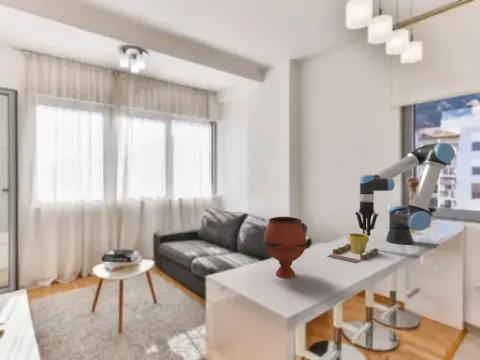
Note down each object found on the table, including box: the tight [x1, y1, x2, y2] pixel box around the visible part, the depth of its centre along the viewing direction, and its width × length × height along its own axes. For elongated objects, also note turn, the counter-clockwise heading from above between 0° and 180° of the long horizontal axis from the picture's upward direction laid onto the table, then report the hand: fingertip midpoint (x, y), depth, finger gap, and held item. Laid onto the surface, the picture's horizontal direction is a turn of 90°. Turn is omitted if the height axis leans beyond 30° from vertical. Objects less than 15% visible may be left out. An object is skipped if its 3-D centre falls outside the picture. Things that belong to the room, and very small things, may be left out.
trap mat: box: [326, 253, 362, 264], centre depth 153 cm, size 6×16×1 cm, turn 43°
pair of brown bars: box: [332, 243, 379, 261], centre depth 162 cm, size 19×17×3 cm
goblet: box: [262, 216, 307, 279], centre depth 130 cm, size 19×19×25 cm
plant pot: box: [348, 232, 369, 255], centre depth 164 cm, size 10×10×10 cm
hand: (366, 241), depth 172 cm, fingers closed
